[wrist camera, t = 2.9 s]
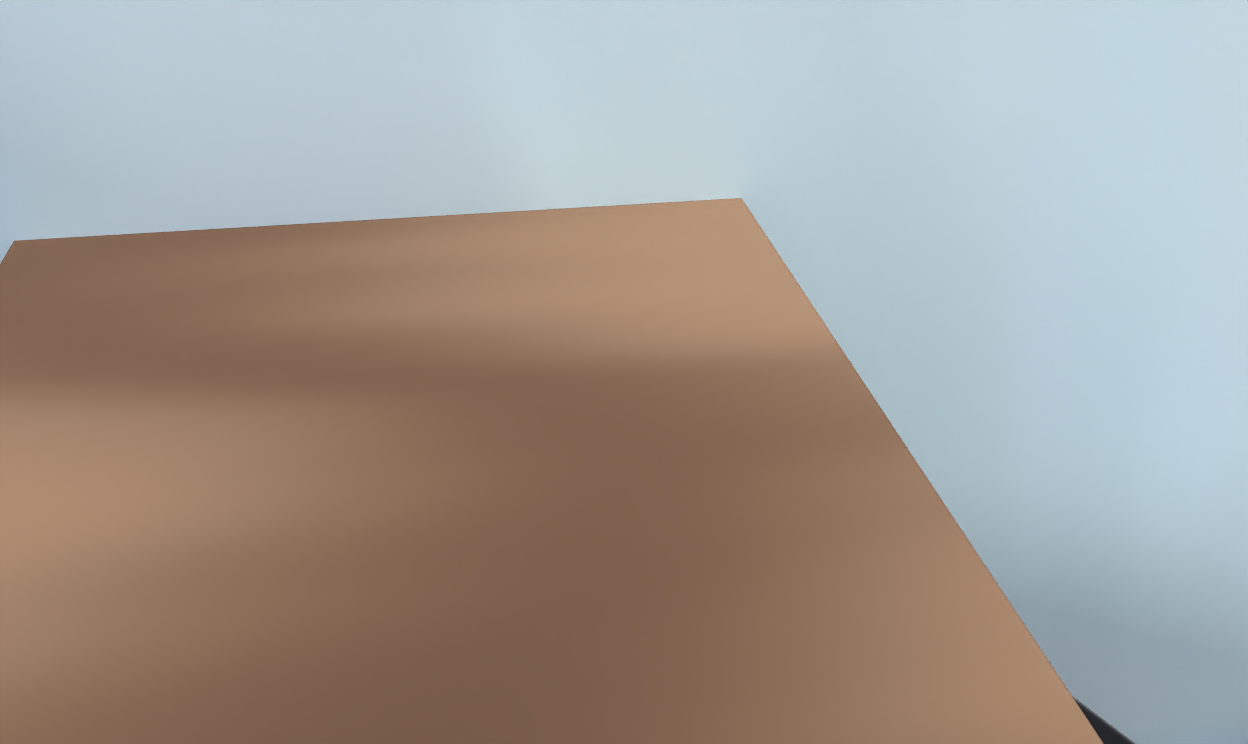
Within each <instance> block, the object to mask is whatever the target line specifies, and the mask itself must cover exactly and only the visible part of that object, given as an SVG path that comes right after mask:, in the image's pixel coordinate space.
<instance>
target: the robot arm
mask: <svg viewBox="0 0 1248 744" xmlns="http://www.w3.org/2000/svg"><path fill="white" fill-rule="evenodd" d="M1072 697H1073V696H1072ZM1073 699H1074V700H1075V702H1076V703H1077V705H1078V706H1079V708H1080V709H1081V711H1082V712H1083V714H1084V715H1085V717H1086V718H1087V720H1088V721H1089V723H1090V724H1091V726H1092V727H1093V729H1094V730H1095V732H1096V733H1097V735H1098V736H1099V738H1100V739H1101V741H1102V742H1103V744H1135V743H1134V742H1132V741H1131V740H1130V739H1128V738H1127V737H1126V736H1124V735H1123V734H1122V733H1120V732H1119V731H1118V730H1116V729H1115V728H1114V727H1112V726H1111V725H1110V724H1109V723H1107V722H1106V721H1105V720H1103V719H1102V718H1101V717H1099V716H1098V715H1097V714H1095V713H1094V712H1093V711H1091V710H1090V709H1089V708H1087V707H1086V706H1085V705H1083V704H1082V703H1081V702H1079V701H1078V700H1077V699H1075V698H1074V697H1073Z"/></svg>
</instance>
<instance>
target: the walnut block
mask: <svg viewBox="0 0 1248 744" xmlns="http://www.w3.org/2000/svg"><path fill="white" fill-rule="evenodd" d="M0 744H1103V742H1102V741H1101V739H1100V738H1099V736H1098V735H1097V733H1096V732H1095V730H1094V729H1093V727H1092V726H1091V724H1090V723H1089V721H1088V720H1087V718H1086V717H1085V715H1084V714H1083V712H1082V711H1081V709H1080V708H1079V706H1078V705H1077V703H1076V702H1075V700H1074V699H1073V697H1072V696H1071V694H1070V693H1069V691H1068V689H1067V688H1066V686H1065V685H1064V683H1063V682H1062V680H1061V679H1060V677H1059V676H1058V674H1057V673H1056V671H1055V670H1054V668H1053V667H1052V665H1051V664H1050V662H1049V661H1048V659H1047V658H1046V656H1045V655H1044V653H1043V652H1042V650H1041V649H1040V647H1039V646H1038V644H1037V643H1036V641H1035V640H1034V638H1033V637H1032V635H1031V634H1030V632H1029V631H1028V629H1027V628H1026V626H1025V625H1024V623H1023V622H1022V620H1021V619H1020V617H1019V616H1018V614H1017V613H1016V611H1015V610H1014V608H1013V607H1012V605H1011V604H1010V602H1009V601H1008V599H1007V598H1006V596H1005V595H1004V593H1003V592H1002V590H1001V589H1000V587H999V586H998V584H997V583H996V581H995V580H994V578H993V577H992V575H991V574H990V572H989V571H988V569H987V568H986V566H985V564H984V563H983V561H982V560H981V558H980V557H979V555H978V554H977V552H976V551H975V549H974V548H973V546H972V545H971V543H970V542H969V540H968V539H967V537H966V536H965V534H964V533H963V531H962V530H961V528H960V527H959V525H958V524H957V522H956V521H955V519H954V518H953V516H952V515H951V513H950V512H949V510H948V509H947V507H946V506H945V504H944V503H943V501H942V500H941V498H940V497H939V495H938V494H937V492H936V491H935V489H934V488H933V486H932V485H931V483H930V482H929V480H928V479H927V477H926V476H925V474H924V473H923V471H922V470H921V468H920V467H919V465H918V464H917V462H916V461H915V459H914V458H913V456H912V455H911V453H910V452H909V450H908V449H907V447H906V446H905V444H904V443H903V441H902V439H901V438H900V436H899V435H898V433H897V432H896V430H895V429H894V427H893V426H892V424H891V423H890V421H889V420H888V418H887V417H886V415H885V414H884V412H883V411H882V409H881V408H880V406H879V405H878V403H877V402H876V400H875V399H874V397H873V396H872V394H871V393H870V391H869V390H868V388H867V387H866V385H865V384H864V382H863V381H862V379H861V378H860V376H859V375H858V373H857V372H856V370H855V369H854V367H853V366H852V364H851V363H850V361H849V360H848V358H847V357H846V355H845V354H844V352H843V351H842V349H841V348H840V346H839V345H838V343H837V342H836V340H835V339H834V337H833V336H832V334H831V333H830V331H829V330H828V328H827V327H826V325H825V324H824V322H823V321H822V319H821V318H820V316H819V314H818V313H817V311H816V310H815V308H814V307H813V305H812V304H811V302H810V301H809V299H808V298H807V296H806V295H805V293H804V292H803V290H802V289H801V287H800V286H799V284H798V283H797V281H796V280H795V278H794V277H793V275H792V274H791V272H790V271H789V269H788V268H787V266H786V265H785V263H784V262H783V260H782V259H781V257H780V256H779V254H778V253H777V251H776V250H775V248H774V247H773V245H772V244H771V242H770V241H769V239H768V238H767V236H766V235H765V233H764V232H763V230H762V229H761V227H760V226H759V224H758V223H757V221H756V220H755V218H754V217H753V215H752V214H751V212H750V211H749V209H748V208H747V206H746V205H745V203H744V202H743V200H742V199H741V198H736V199H719V200H702V201H685V202H667V203H650V204H633V205H616V206H599V207H582V208H565V209H548V210H531V211H514V212H497V213H480V214H463V215H446V216H429V217H412V218H395V219H378V220H361V221H344V222H327V223H310V224H293V225H276V226H259V227H242V228H225V229H208V230H191V231H174V232H157V233H140V234H123V235H106V236H89V237H71V238H54V239H37V240H20V241H14V242H13V244H12V246H11V247H10V249H9V250H8V252H7V254H6V255H5V257H4V259H3V260H2V262H1V264H0Z"/></svg>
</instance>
